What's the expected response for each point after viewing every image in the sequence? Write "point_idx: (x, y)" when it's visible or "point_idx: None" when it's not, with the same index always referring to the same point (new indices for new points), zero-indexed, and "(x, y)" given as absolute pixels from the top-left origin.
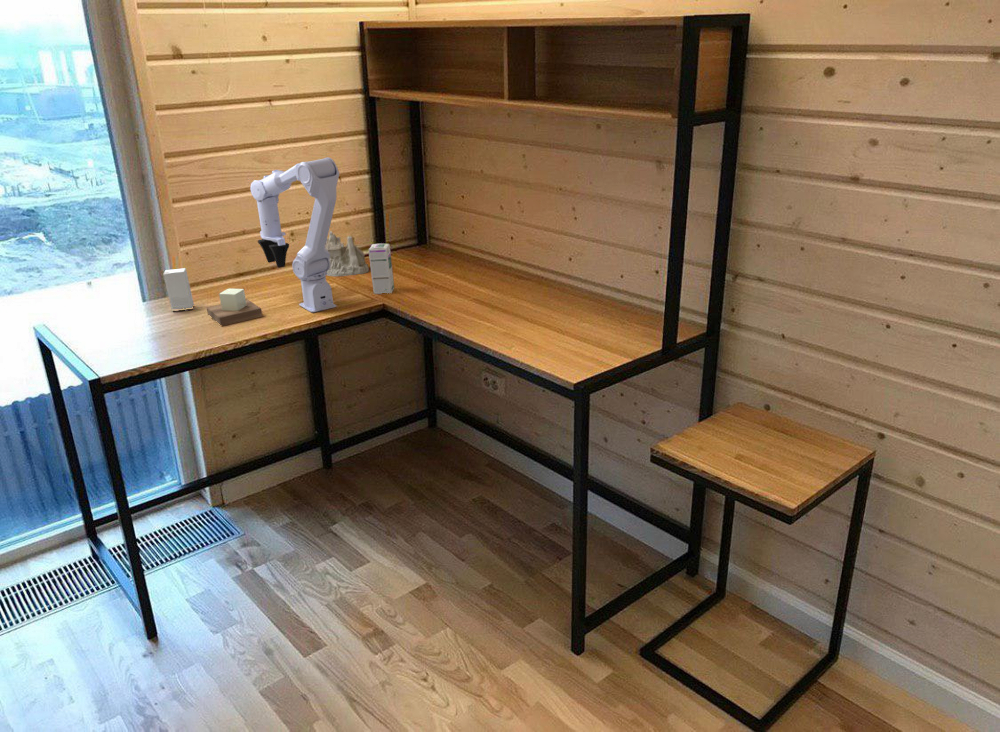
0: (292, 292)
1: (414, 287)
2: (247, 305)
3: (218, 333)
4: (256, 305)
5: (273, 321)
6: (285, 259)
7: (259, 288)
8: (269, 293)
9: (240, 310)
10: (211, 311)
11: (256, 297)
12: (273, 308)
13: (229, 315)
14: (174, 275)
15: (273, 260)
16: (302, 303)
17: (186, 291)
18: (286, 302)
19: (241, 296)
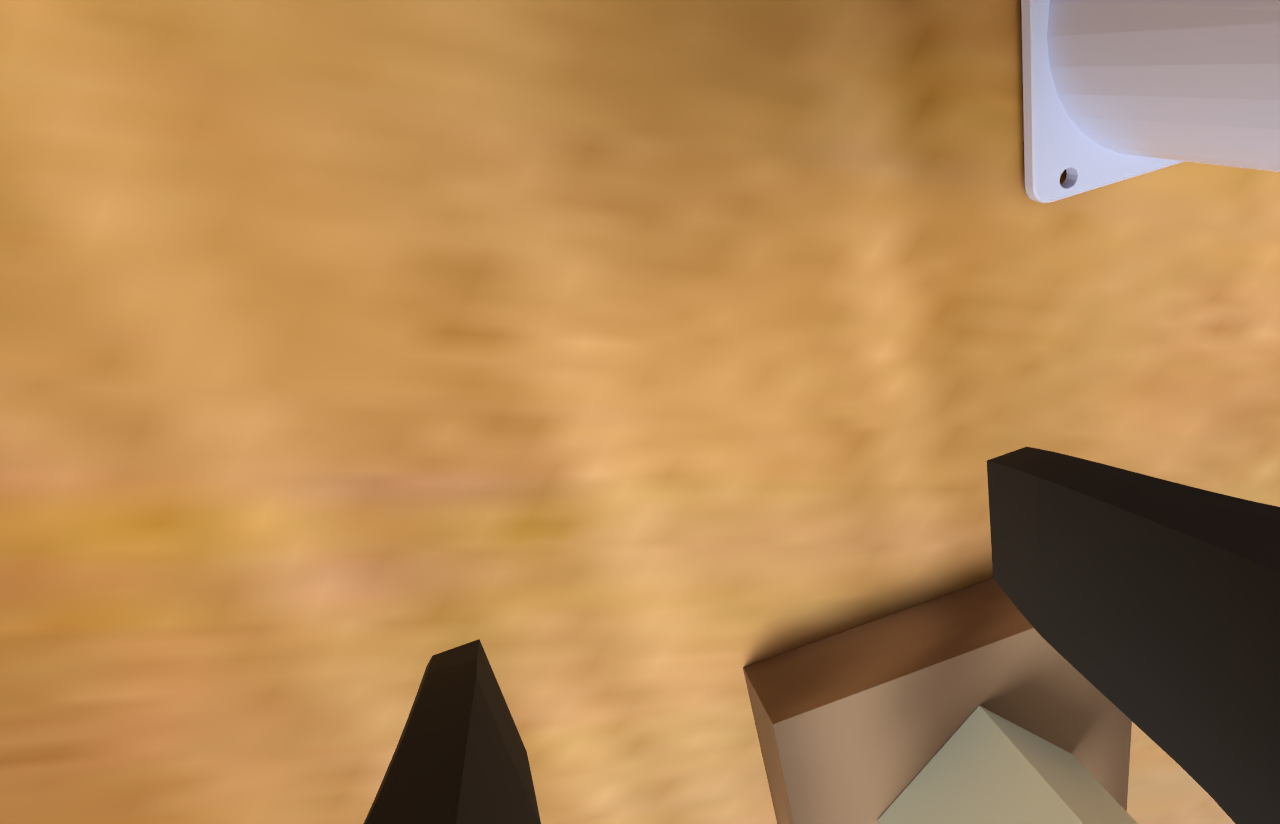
0: (455, 203)
1: None
2: (980, 699)
3: (1193, 785)
4: (1032, 629)
5: (1248, 466)
6: (1195, 490)
7: (68, 596)
8: (371, 483)
9: (1071, 737)
10: None
11: (475, 612)
12: (938, 456)
13: (1125, 794)
14: None
15: (489, 690)
16: (1057, 163)
17: None
18: (830, 320)
19: (1096, 812)
